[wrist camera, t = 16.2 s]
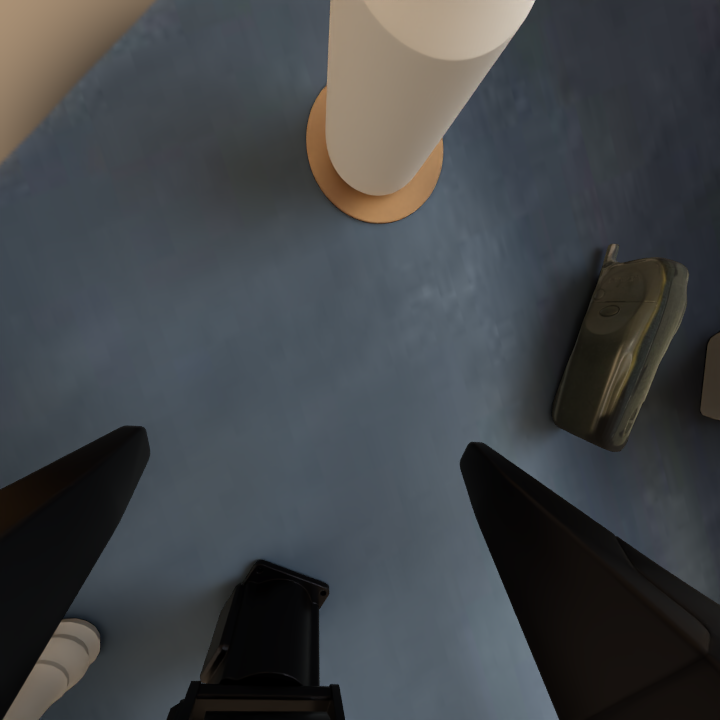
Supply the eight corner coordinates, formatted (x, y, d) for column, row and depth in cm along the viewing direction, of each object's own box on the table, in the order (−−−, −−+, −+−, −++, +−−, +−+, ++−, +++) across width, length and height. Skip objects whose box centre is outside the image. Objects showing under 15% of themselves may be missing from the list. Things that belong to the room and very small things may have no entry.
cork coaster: (466, 134, 18) (468, 132, 18) (396, 250, 19) (397, 250, 19) (354, 33, 16) (354, 30, 16) (279, 166, 17) (279, 164, 17)
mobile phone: (634, 458, 19) (719, 235, 17) (599, 453, 18) (682, 222, 16) (570, 427, 24) (629, 251, 21) (540, 423, 23) (598, 242, 21)
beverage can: (318, 189, 17) (321, -75, 6) (331, 80, 16) (368, -500, 5) (410, 211, 18) (573, 28, 7) (427, 110, 18) (648, -302, 6)
